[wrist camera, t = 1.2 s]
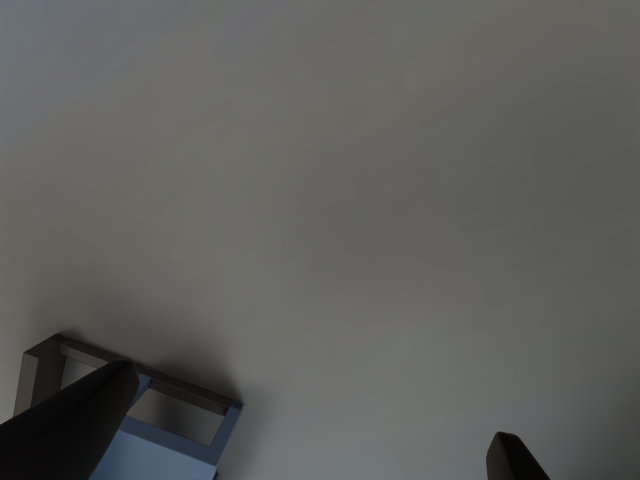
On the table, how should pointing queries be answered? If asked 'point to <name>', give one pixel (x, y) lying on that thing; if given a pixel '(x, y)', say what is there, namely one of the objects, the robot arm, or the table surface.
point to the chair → (133, 435)
